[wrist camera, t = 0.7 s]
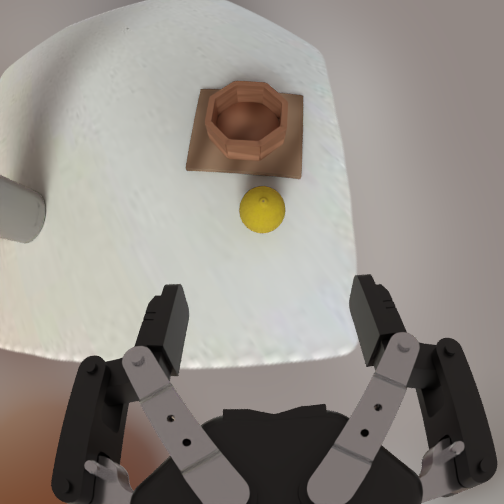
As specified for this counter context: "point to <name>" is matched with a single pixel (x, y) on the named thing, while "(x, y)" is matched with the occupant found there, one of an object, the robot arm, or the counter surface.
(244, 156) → the brown bowl on base
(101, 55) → the counter surface
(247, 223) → the lemon
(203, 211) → the counter surface
